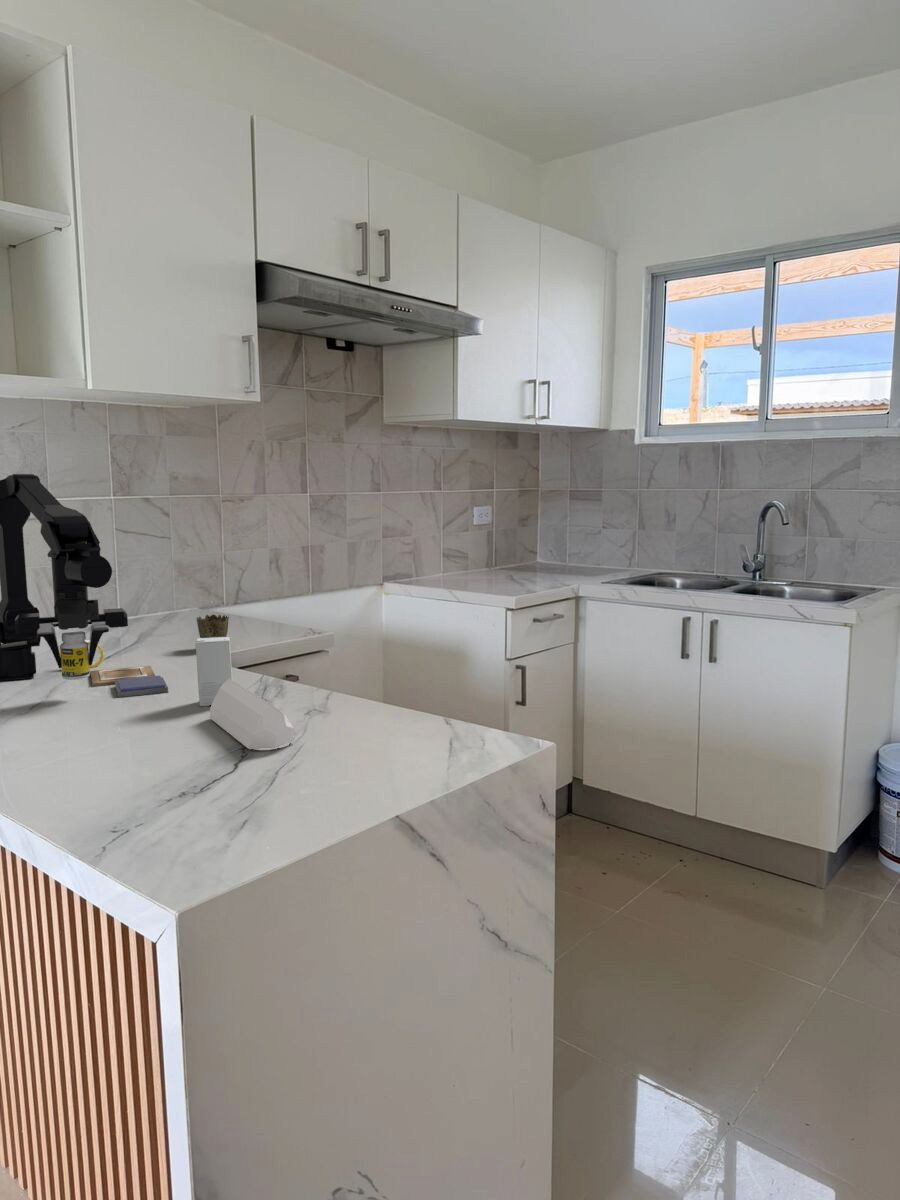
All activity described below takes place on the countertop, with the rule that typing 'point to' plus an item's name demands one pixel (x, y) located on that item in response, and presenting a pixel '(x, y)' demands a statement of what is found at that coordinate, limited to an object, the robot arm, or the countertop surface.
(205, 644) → the skincare box
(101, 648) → the watch
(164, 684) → the ink pad
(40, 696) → the countertop surface
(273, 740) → the crystal
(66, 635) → the supplement bottle
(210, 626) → the cup
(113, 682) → the marked board
